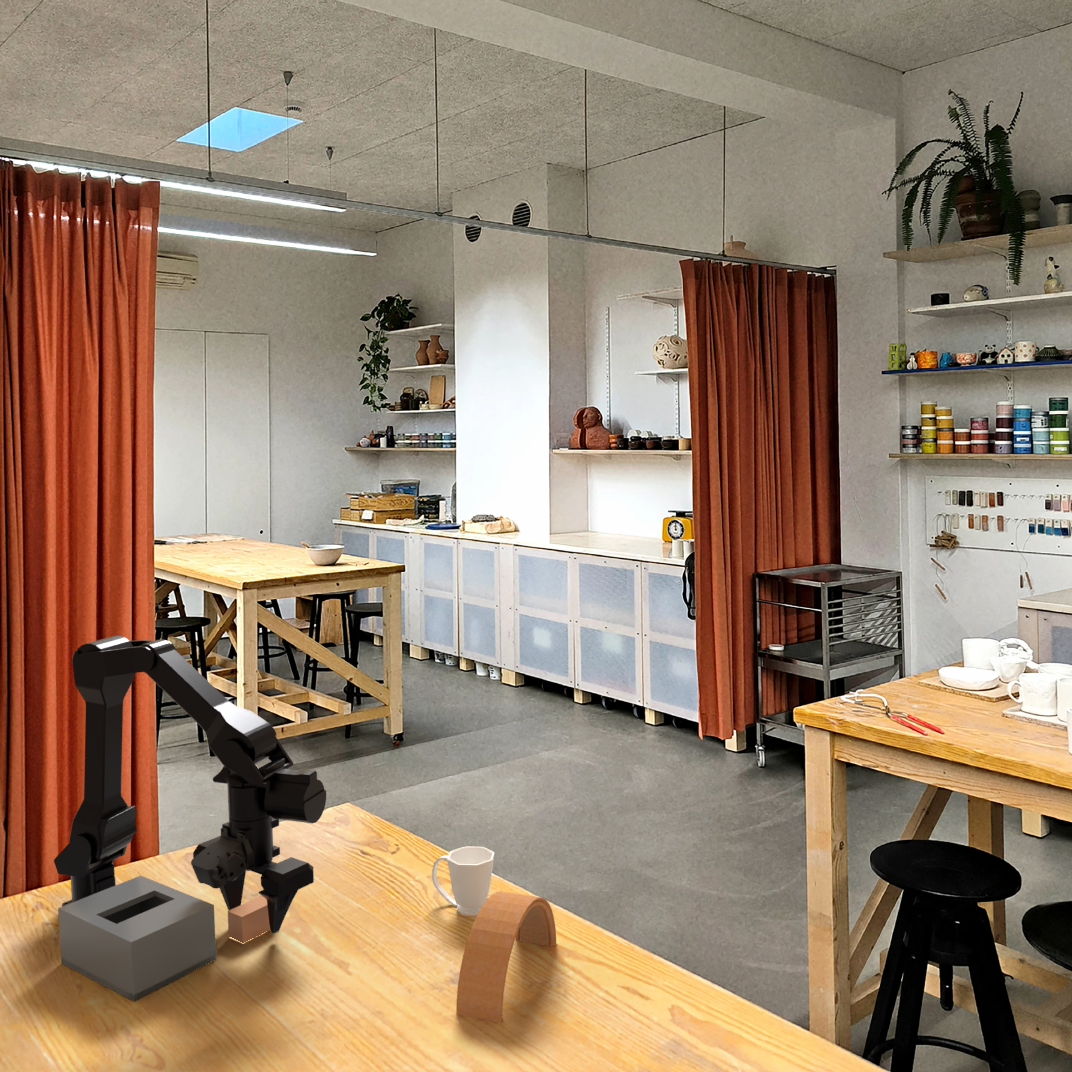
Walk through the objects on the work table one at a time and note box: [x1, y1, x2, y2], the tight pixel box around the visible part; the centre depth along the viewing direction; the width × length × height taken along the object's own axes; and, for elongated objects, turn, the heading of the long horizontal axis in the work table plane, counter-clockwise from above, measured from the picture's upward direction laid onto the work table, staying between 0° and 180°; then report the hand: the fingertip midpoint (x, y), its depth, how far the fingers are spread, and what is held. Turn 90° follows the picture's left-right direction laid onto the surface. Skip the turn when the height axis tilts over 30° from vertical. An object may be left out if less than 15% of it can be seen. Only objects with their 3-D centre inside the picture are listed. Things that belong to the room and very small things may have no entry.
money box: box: [57, 875, 217, 1002], centre depth 134 cm, size 16×12×8 cm
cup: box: [431, 845, 495, 917], centre depth 149 cm, size 7×10×8 cm
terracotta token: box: [227, 895, 270, 943], centre depth 142 cm, size 3×6×4 cm, turn 145°
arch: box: [455, 890, 557, 1024], centre depth 130 cm, size 6×20×10 cm, turn 159°
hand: (254, 923), depth 142 cm, fingers open, 8 cm apart
